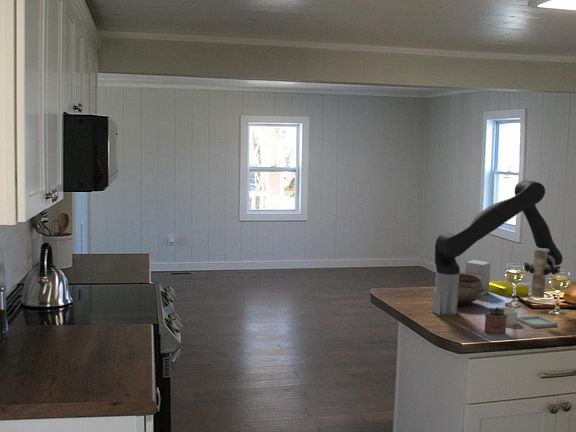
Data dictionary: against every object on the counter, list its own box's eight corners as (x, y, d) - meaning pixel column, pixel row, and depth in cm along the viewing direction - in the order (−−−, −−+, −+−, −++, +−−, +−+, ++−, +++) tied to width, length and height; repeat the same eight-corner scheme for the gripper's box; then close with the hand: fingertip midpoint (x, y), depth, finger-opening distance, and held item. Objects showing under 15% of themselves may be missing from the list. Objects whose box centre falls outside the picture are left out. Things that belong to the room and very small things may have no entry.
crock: (502, 326, 248) (503, 312, 248) (490, 321, 256) (491, 307, 255) (520, 325, 251) (521, 311, 250) (507, 319, 258) (508, 306, 258)
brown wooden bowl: (423, 301, 285) (424, 274, 283) (443, 294, 299) (445, 269, 297) (476, 312, 268) (477, 284, 267) (495, 305, 282) (497, 277, 281)
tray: (532, 329, 246) (533, 324, 246) (514, 321, 256) (515, 316, 256) (556, 327, 249) (557, 323, 249) (538, 320, 259) (538, 315, 259)
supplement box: (471, 290, 310) (473, 259, 309) (489, 293, 305) (491, 262, 303) (463, 293, 303) (465, 261, 302) (481, 296, 298) (483, 264, 296)
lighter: (503, 333, 240) (505, 307, 239) (507, 335, 237) (509, 309, 235) (482, 332, 240) (484, 306, 239) (485, 335, 236) (487, 308, 235)
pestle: (536, 298, 249) (539, 252, 246) (528, 295, 253) (532, 250, 251) (546, 297, 250) (549, 252, 248) (538, 294, 254) (542, 250, 252)
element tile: (483, 290, 312) (484, 280, 311) (508, 288, 318) (508, 278, 317) (505, 297, 298) (506, 287, 298) (530, 295, 304) (531, 285, 304)
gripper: (526, 253, 266) (519, 260, 251) (563, 257, 259) (559, 264, 244) (525, 271, 267) (518, 278, 252) (562, 275, 260) (557, 283, 245)
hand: (538, 271), depth 248 cm, fingers closed on pestle, 4 cm apart
